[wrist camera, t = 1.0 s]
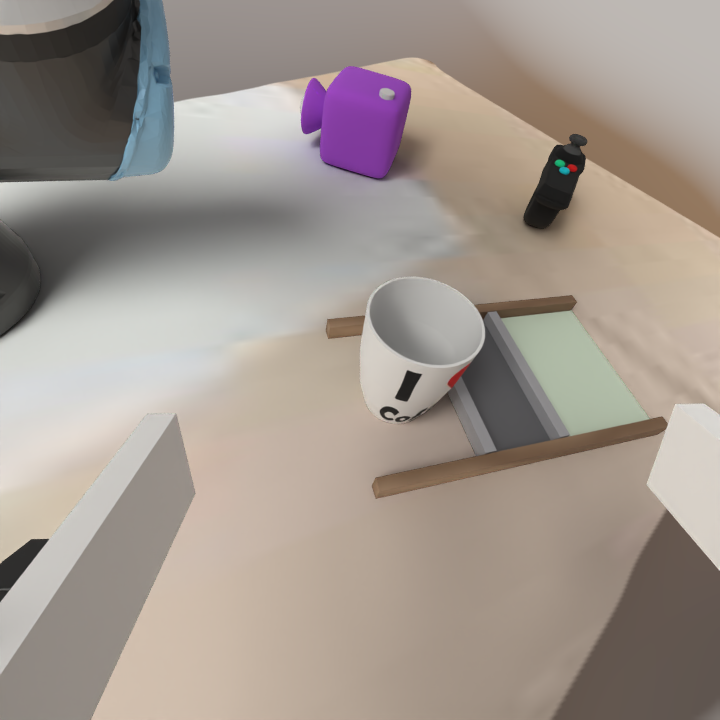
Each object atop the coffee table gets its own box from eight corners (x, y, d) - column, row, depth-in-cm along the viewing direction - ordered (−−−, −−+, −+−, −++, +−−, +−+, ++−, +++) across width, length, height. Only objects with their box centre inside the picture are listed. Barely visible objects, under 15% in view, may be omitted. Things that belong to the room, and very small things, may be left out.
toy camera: (303, 127, 62) (308, 45, 54) (397, 146, 63) (415, 69, 55) (290, 167, 55) (294, 80, 48) (395, 187, 57) (416, 106, 49)
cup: (365, 452, 33) (394, 379, 26) (332, 368, 38) (349, 283, 30) (455, 427, 36) (507, 354, 28) (415, 351, 40) (451, 270, 32)
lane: (325, 330, 40) (327, 319, 39) (564, 305, 48) (572, 295, 47) (375, 498, 31) (379, 491, 30) (657, 434, 39) (669, 426, 38)
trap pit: (418, 329, 42) (423, 318, 41) (490, 321, 44) (496, 311, 43) (478, 461, 35) (485, 453, 33) (560, 443, 37) (570, 434, 36)
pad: (490, 321, 44) (491, 319, 44) (569, 312, 47) (571, 310, 47) (560, 443, 37) (562, 441, 37) (650, 423, 40) (652, 422, 40)
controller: (556, 208, 60) (599, 135, 52) (540, 256, 53) (588, 180, 45) (526, 196, 61) (564, 123, 53) (507, 242, 53) (548, 164, 45)
